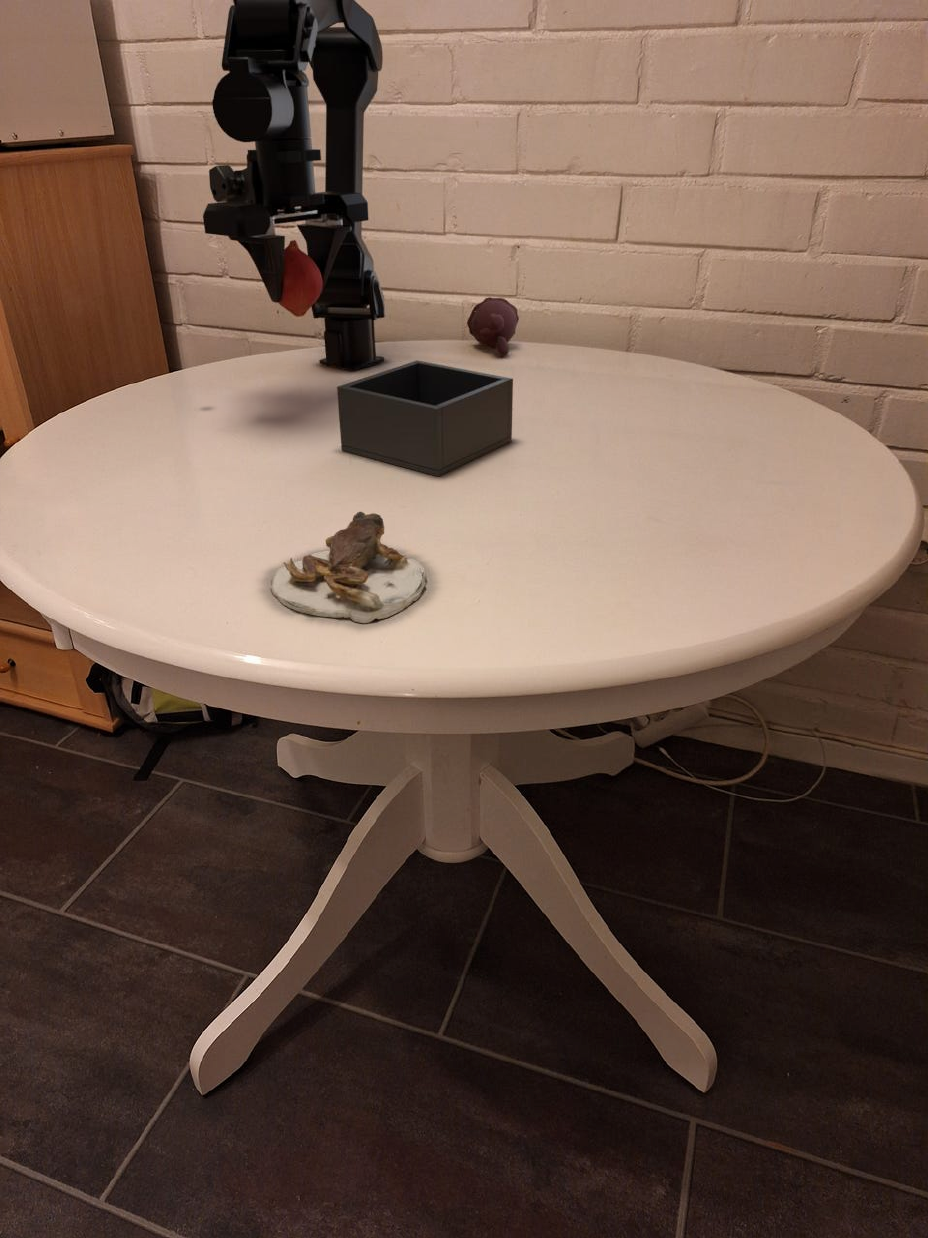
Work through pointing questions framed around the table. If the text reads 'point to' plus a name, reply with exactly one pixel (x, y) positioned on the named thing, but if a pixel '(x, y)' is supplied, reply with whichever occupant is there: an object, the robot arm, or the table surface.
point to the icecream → (494, 323)
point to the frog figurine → (351, 576)
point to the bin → (425, 416)
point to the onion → (299, 281)
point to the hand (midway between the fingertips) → (297, 297)
